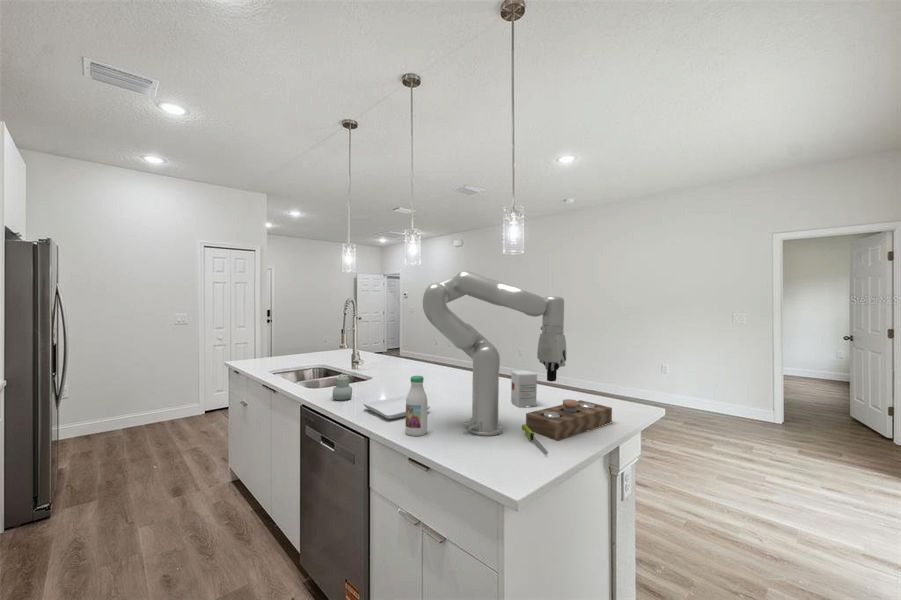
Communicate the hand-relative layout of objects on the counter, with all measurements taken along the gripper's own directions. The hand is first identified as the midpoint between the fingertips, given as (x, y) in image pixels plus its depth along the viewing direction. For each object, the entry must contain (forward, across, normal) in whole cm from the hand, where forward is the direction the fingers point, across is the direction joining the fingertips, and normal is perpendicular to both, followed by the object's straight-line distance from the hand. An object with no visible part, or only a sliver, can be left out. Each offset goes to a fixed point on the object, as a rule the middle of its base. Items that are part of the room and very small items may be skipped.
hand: (551, 380), depth 140 cm
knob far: (+18, 0, +22) cm, 29 cm away
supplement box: (+19, -31, +19) cm, 41 cm away
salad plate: (+20, -54, -34) cm, 66 cm away
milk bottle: (+19, -27, -41) cm, 52 cm away
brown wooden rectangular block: (+18, 0, +11) cm, 22 cm away
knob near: (+18, 0, 0) cm, 18 cm away
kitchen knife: (+19, +5, -15) cm, 24 cm away
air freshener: (+20, -87, -45) cm, 100 cm away
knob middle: (+15, 0, +11) cm, 19 cm away
